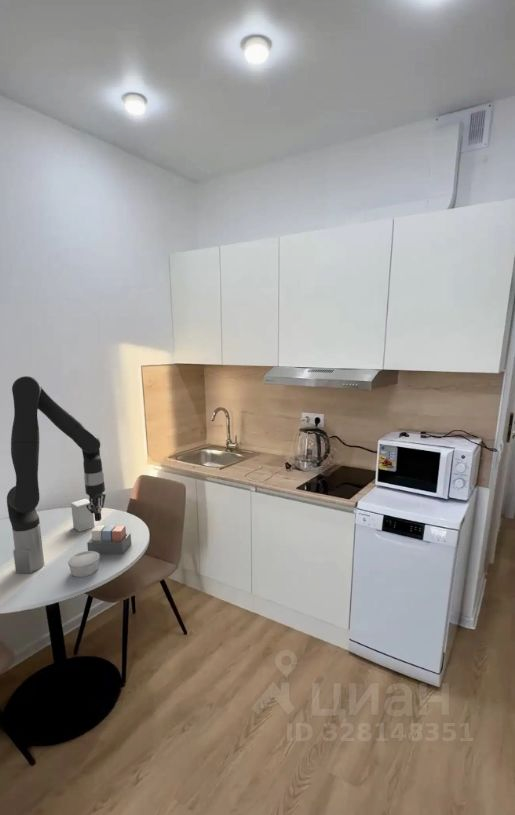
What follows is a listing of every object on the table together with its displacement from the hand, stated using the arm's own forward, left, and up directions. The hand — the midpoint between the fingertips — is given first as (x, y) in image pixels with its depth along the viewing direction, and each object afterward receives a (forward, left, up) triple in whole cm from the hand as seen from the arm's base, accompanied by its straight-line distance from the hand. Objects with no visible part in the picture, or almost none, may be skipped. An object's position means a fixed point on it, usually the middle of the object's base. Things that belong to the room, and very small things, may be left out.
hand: (98, 520), depth 165 cm
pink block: (0, -9, -8) cm, 12 cm away
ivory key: (0, 0, -8) cm, 8 cm away
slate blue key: (0, -4, -8) cm, 10 cm away
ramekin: (-17, -2, -13) cm, 21 cm away
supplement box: (+19, +17, -13) cm, 29 cm away
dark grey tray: (0, -4, -13) cm, 13 cm away
